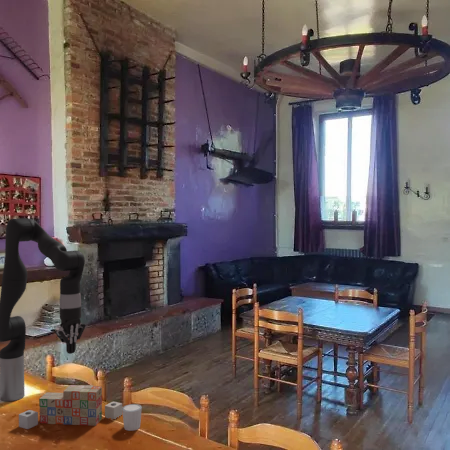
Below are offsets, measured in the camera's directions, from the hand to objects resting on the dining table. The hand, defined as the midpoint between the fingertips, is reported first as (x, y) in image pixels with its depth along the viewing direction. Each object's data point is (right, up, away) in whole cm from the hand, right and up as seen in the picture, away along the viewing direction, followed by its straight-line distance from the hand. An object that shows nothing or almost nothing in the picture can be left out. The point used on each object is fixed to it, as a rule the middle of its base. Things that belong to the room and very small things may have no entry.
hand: (71, 352), depth 172 cm
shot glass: (+23, -25, -5) cm, 35 cm away
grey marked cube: (-14, -25, -3) cm, 29 cm away
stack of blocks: (0, -25, 0) cm, 25 cm away
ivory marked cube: (+15, -25, +4) cm, 29 cm away
